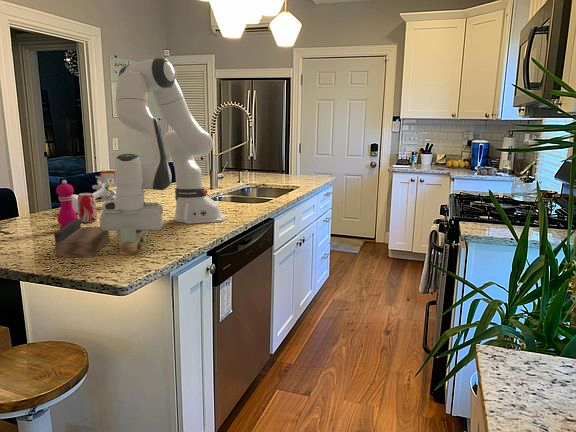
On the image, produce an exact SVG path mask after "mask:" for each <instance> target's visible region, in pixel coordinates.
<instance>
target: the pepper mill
mask: <svg viewBox="0 0 576 432" xmlns="http://www.w3.org/2000/svg"><path fill="white" fill-rule="evenodd" d="M55 190H56V192H55V193H56V195H58V201H59V203H60V210H59V213H58V215H57V222H58V223H59V225H60V226H59V230H60V229H61V228H63V227H64V226H66V225H67V224H69V223H70V222H72V221H74V220H75V219H79V215H78V214H76V212H75V211H74V209H73V207H72V200H73V196H72V195H73V194H74V191H75V190H74V187H73V185H72V184H69V183H68V182H67V180H66V179H63V180H62V181H61V184H58V185H57V187H56V189H55Z"/></svg>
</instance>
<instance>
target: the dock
mask: <svg viewBox="0 0 576 432" xmlns="http://www.w3.org/2000/svg"><path fill="white" fill-rule="evenodd" d="M81 226H82V225H81V221H80V219H79V218H78V219H75V220H74V221H72V222H70V223H69V224H67V225H66V226H64V227H63V228H61V229H60V228H59V230H57V231H54V234H53V235H54V242H55V245H54V246H55V253H56V254H55V255H56V258H83V257H84V258H86V257H87V258H88V257H89V258H90V257H94V256H95V255H96V254H98V252H99V251H101V249H102V248H103V247H104V246H105V245H106V244H107V243H108V242H109V241H110V231H103V230H102V229H101V228H100V226H82V227H81Z"/></svg>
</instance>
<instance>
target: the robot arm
mask: <svg viewBox="0 0 576 432" xmlns="http://www.w3.org/2000/svg"><path fill="white" fill-rule="evenodd" d="M117 77H118V79H117V83H116V90H115V109H116V110H115V111H116V116H117V118H118V121H120V122H121V124H123V125H124V126H125V127H127V128H130V129H132V130H133V131H136V132H137V131H138V132H139V133H140V132H141V133H143V134H144V135H146V136H147V137H149V138H150V140H151V144H152V149H153V154H154V160H153V161H151V162H150V161H148V162H144V161H143V162H141V159H140V156H139V155H138V154H134V153H122V154H118V155H117V156H116V157H115V159H114V160H115V161H114V162H115V163H114V170H115V171H114V179H115V184H116V186H117V192H116V198H115V199H111V200H108V201H106V200H105V201H104V202H102V204H101V209H102V211H101V213H100V216H99V227H100V228H101V229H102V230H103V231H109V232H112V231H113V232H114V231H116V235H117V236H118V237H119V239H121V233H120V230H121V229H122V228H123V227H136V230H143V233H145V234H144V236H141V237H140V240H141V241H140V242H142V243H146V241H147V238H146V237H147V235H148V233H149V230H154V231H155V230H161V229H162V228H163V226H164V221H163V211H164V210H163V209H164V208H163V205H162V204H160V203H159V202H157V201H156V202H154V201H153V202H150V201H149V202H145V193H144V190H154V191H164V190H166V189H168V187H170V185H171V184H172V179H173V178H172V176H173V175H172V172H171V167H170V166H169V162H168V158H167V157H168V156H167V153H168V154H169V157H170V159H171V162H172V164H173V167H174V173H175V174H174V175H175V186H176V187H175V188H174V195H175V201H176V202H175V204H176V205H175V213H174V217H173V220H174V221H175V222H179V223H183V224H187V225H188V224H189V225H191V224H202V223H207V224H208V223H219V222H224V221H225V220H226V215H225V214H224V213H222V212H221V208H220V206H219V205H220V204H219V203H217V201H215V200H213V199H212V198H210V196H208V189H207V188H205V187H204V186H203V183H202V182H203V179H202V178H203V176H202V169H201V167H200V166H199V164H197V163H196V160H195V158H194V157H202V156H205V155H206V156H207V155H209V154H210V153H211V151H212V149H213V148H214V141H213V137H212V135H211V134H210V133H208V132H207V131H206V130H204V129H203V127H201V126H200V125H199V123H198V121H197V120H196V119H195V118H194V116H193V115H192V113H191V111H190V110H189V109H190V108H189V106H188V105H187V100H186V99H185V97H184V96H185V95H183V91H182V89H181V87H180V85H179V83H178V82H177V80H176V70H175V67H174V65H173V64H172V62H170V61H169V60H168V59H167V58H165V57H156V58H153V59H152V58H151V59H149V58H148V59H144V60H140V61H139V62H138V61H137V62H134V63H131V64H127V65H125V66H123V67H121V68H120V70H119V73H118V76H117ZM150 92H152V93H153V97H154V100H155V103H156V104H157V107H158V110H159V112H160V114H161V117H162V119H163V122H164V123H165V124H166V125H167V126H169V127H170V128H171V129H172V130H169V131H166V132H165V134H164V135H163V133H162V129H161V125H160V123H159V120H158V118H157V117H155V116H153V114H152V113H151V110H150V107H149V103H150V102H149V94H148V93H150ZM166 152H167V153H166Z"/></svg>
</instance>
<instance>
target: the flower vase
mask: <svg viewBox="0 0 576 432" xmlns="http://www.w3.org/2000/svg"><path fill="white" fill-rule="evenodd" d="M94 177H95V178H96V183H97V184H94V185H92V186H91V188H92V189H93V190H96V191H94V192H93V195H94V197H95V200H96V199H98V198H101V199H99V202H100V203H105V202H106V201H108V200H110V199H115V198H116V197H115V196H113V195H114V194H116V192H117V190H115V189H117V186H116V185H114V183H115V180H114V179H112V181H111V182H110V181H109V180H108V179H109V178H111V177H112V176H108V177H106V174H103V175H102V178H101V177H100V175H95V176H94ZM101 181H102V182H104V183H103V184H102V183H101ZM105 181H106V183H105ZM106 190H108V192H107V191H106ZM112 191H113V192H112ZM72 196H73V200H72V207H73V209H74V211H75V212H76V214H77V215H79V212H78V200H77V199H78V196H79V194H74V193H73V194H72ZM102 197H103V198H102Z"/></svg>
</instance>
